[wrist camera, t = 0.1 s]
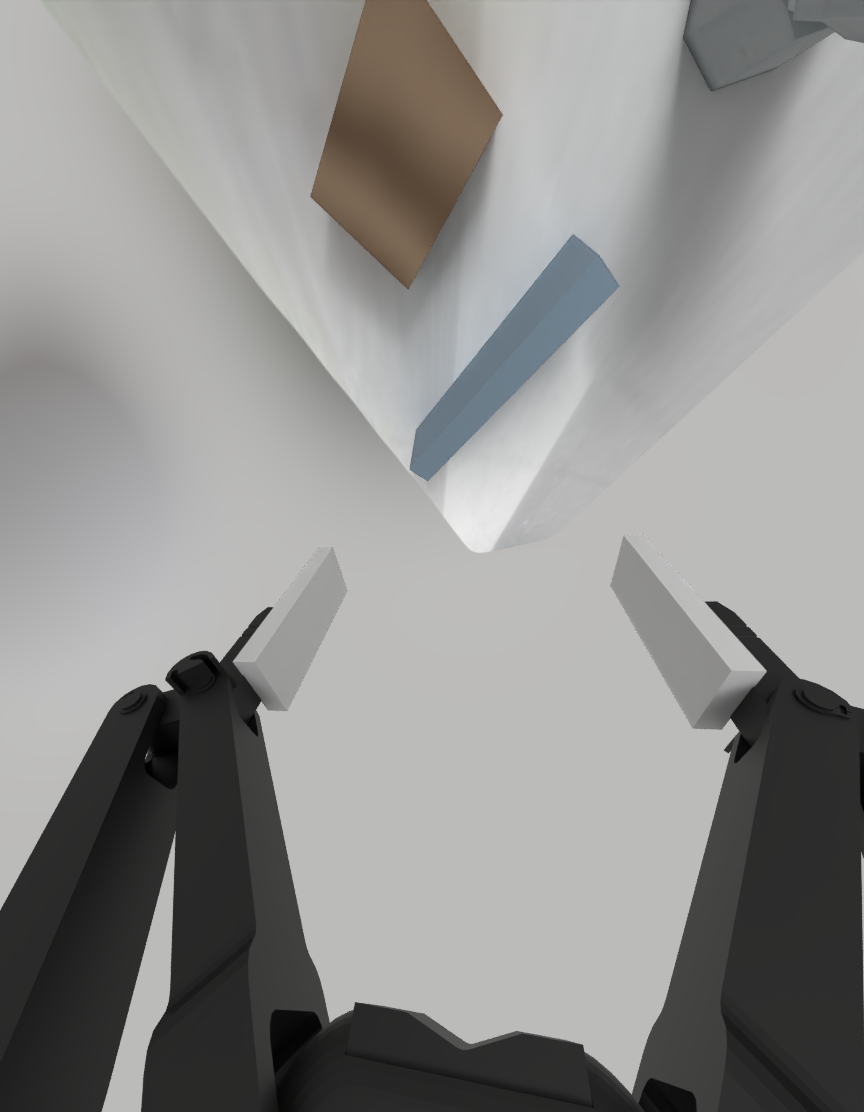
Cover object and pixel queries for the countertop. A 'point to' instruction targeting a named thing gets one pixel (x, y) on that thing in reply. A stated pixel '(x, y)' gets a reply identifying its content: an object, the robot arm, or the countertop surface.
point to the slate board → (514, 352)
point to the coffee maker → (763, 33)
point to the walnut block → (402, 134)
